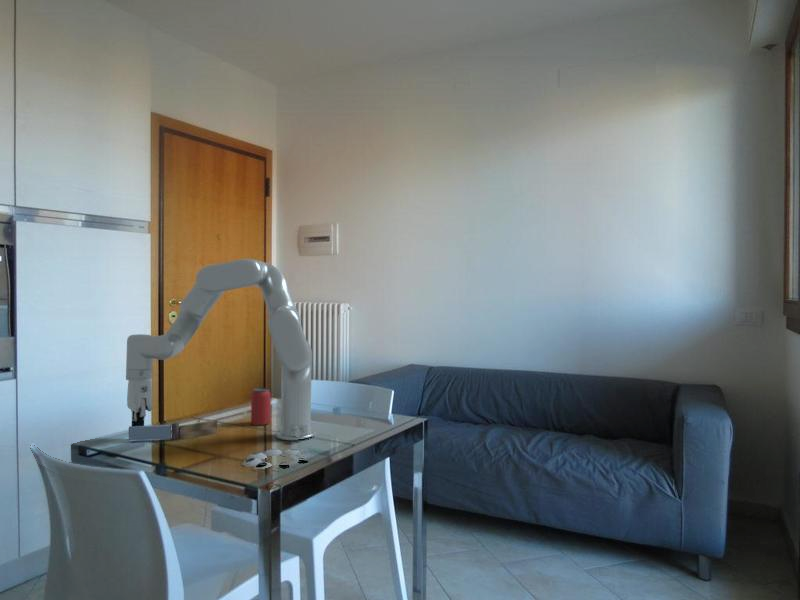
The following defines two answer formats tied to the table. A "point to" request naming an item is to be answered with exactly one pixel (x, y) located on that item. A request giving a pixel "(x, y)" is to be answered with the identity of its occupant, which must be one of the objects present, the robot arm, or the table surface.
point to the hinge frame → (193, 430)
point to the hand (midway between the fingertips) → (137, 432)
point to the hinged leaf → (150, 432)
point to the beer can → (260, 406)
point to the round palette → (257, 457)
